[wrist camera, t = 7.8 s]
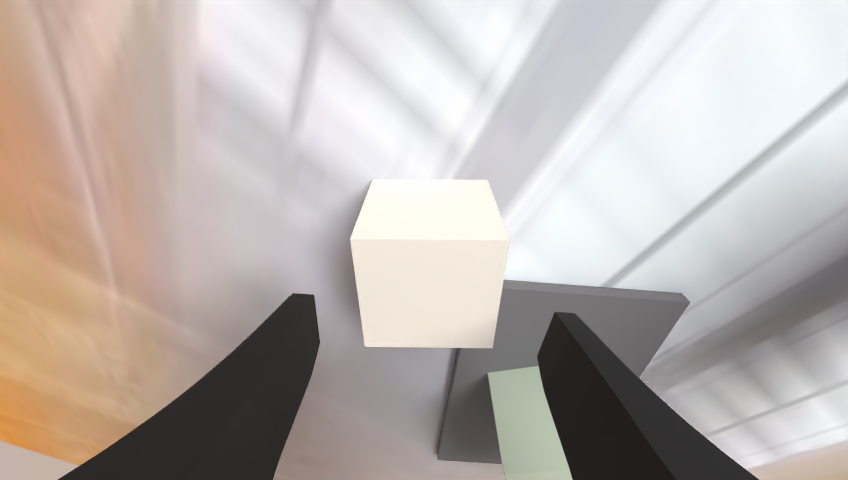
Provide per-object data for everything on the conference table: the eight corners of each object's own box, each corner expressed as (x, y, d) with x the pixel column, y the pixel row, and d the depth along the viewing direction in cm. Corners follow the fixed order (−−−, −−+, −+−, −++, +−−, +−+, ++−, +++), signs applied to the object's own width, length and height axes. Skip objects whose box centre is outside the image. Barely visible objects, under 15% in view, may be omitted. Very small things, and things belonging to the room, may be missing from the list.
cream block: (487, 178, 13) (510, 240, 9) (477, 270, 16) (492, 348, 12) (372, 178, 13) (349, 238, 10) (380, 269, 16) (364, 346, 12)
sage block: (582, 360, 18) (628, 463, 14) (581, 412, 20) (620, 514, 16) (487, 372, 19) (503, 475, 14) (498, 422, 21) (515, 521, 17)
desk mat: (681, 293, 16) (690, 302, 16) (574, 459, 25) (577, 468, 24) (472, 277, 16) (473, 286, 15) (437, 450, 24) (437, 459, 24)
